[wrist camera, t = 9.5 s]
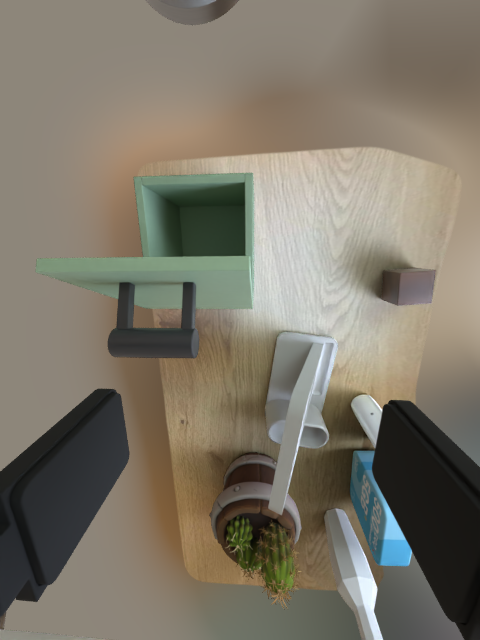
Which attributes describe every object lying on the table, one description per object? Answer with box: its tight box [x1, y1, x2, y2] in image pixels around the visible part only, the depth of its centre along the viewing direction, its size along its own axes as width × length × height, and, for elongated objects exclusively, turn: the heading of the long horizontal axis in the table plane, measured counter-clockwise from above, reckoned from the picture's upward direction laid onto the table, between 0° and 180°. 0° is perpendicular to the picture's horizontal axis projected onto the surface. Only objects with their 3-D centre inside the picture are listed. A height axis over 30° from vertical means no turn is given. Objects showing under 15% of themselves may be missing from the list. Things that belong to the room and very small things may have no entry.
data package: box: [350, 451, 412, 566], centre depth 41 cm, size 12×4×12 cm, turn 3°
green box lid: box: [36, 256, 253, 358], centre depth 19 cm, size 13×12×5 cm
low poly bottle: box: [324, 508, 383, 640], centre depth 40 cm, size 6×6×22 cm
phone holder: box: [265, 332, 338, 515], centre depth 34 cm, size 17×10×18 cm, turn 174°
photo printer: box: [351, 395, 382, 447], centre depth 37 cm, size 10×4×12 cm, turn 34°
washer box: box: [134, 173, 254, 296], centre depth 31 cm, size 13×12×13 cm
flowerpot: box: [210, 452, 302, 608], centre depth 39 cm, size 14×15×20 cm
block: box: [381, 268, 436, 306], centre depth 35 cm, size 4×4×4 cm
